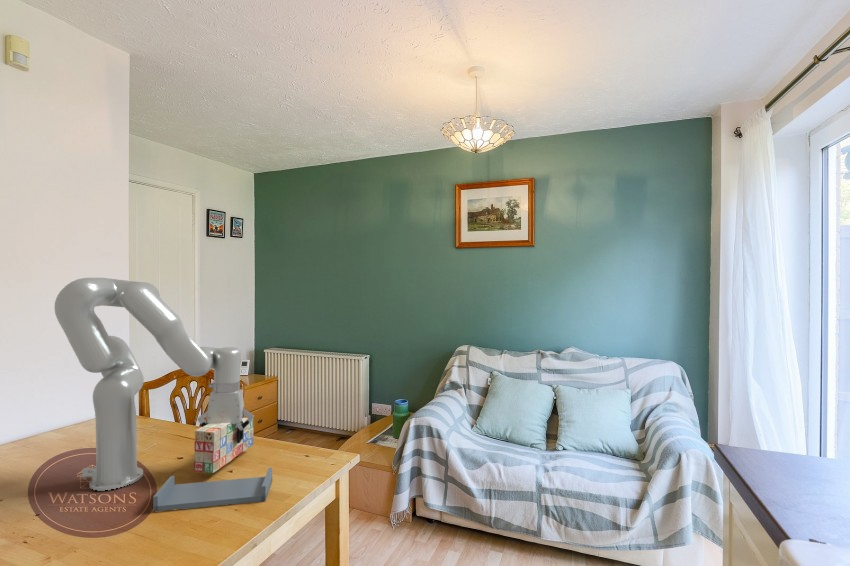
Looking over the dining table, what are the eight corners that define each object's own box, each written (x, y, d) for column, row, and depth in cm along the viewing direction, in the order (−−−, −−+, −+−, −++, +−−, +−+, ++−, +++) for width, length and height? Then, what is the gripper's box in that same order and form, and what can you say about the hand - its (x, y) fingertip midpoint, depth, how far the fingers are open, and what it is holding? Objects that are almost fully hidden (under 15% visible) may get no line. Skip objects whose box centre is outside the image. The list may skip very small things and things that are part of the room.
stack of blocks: (236, 443, 143) (237, 408, 143) (253, 445, 142) (254, 409, 142) (193, 471, 122) (194, 429, 122) (212, 473, 121) (214, 431, 121)
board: (153, 512, 105) (153, 496, 105) (170, 490, 116) (170, 476, 116) (265, 501, 110) (265, 486, 110) (272, 481, 121) (272, 467, 121)
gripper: (192, 390, 126) (191, 448, 126) (253, 389, 129) (252, 445, 129) (201, 384, 133) (199, 438, 133) (258, 383, 137) (256, 436, 137)
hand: (225, 441), depth 131 cm, fingers closed on stack of blocks, 7 cm apart
